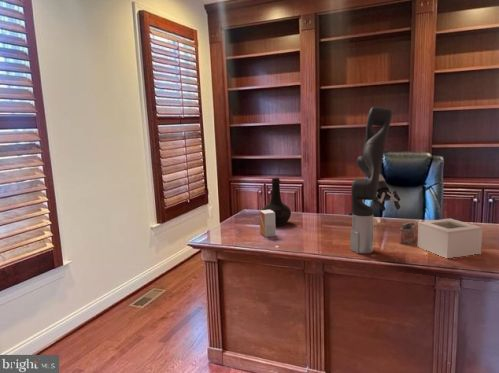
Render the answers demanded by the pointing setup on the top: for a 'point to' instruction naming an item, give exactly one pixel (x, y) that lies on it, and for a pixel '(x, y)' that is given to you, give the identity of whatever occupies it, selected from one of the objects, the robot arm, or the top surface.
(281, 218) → the glass bottle
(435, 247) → the slot box
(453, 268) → the top surface
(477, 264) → the top surface
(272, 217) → the small box
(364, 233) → the robot arm
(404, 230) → the lighter
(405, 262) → the top surface
